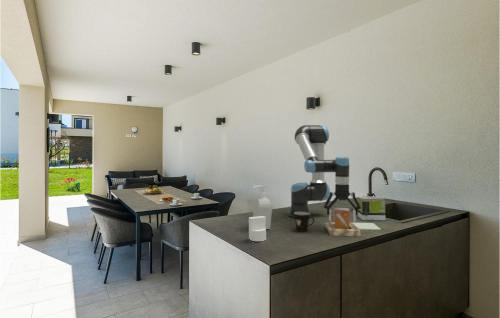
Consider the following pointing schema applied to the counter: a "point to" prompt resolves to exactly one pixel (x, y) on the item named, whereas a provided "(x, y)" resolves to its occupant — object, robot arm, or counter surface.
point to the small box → (342, 218)
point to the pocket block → (342, 230)
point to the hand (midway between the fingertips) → (342, 220)
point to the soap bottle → (262, 206)
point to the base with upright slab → (257, 228)
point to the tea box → (371, 208)
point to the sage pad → (366, 226)
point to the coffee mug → (302, 221)
